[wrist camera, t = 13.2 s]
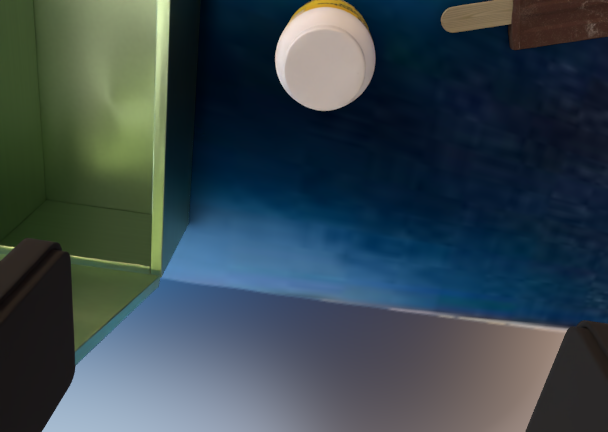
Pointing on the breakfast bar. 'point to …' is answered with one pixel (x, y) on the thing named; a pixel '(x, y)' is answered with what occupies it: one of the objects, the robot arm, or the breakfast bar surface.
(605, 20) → the ice cream bar
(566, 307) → the breakfast bar surface
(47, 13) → the bin
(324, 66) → the pill bottle
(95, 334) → the bin lid
